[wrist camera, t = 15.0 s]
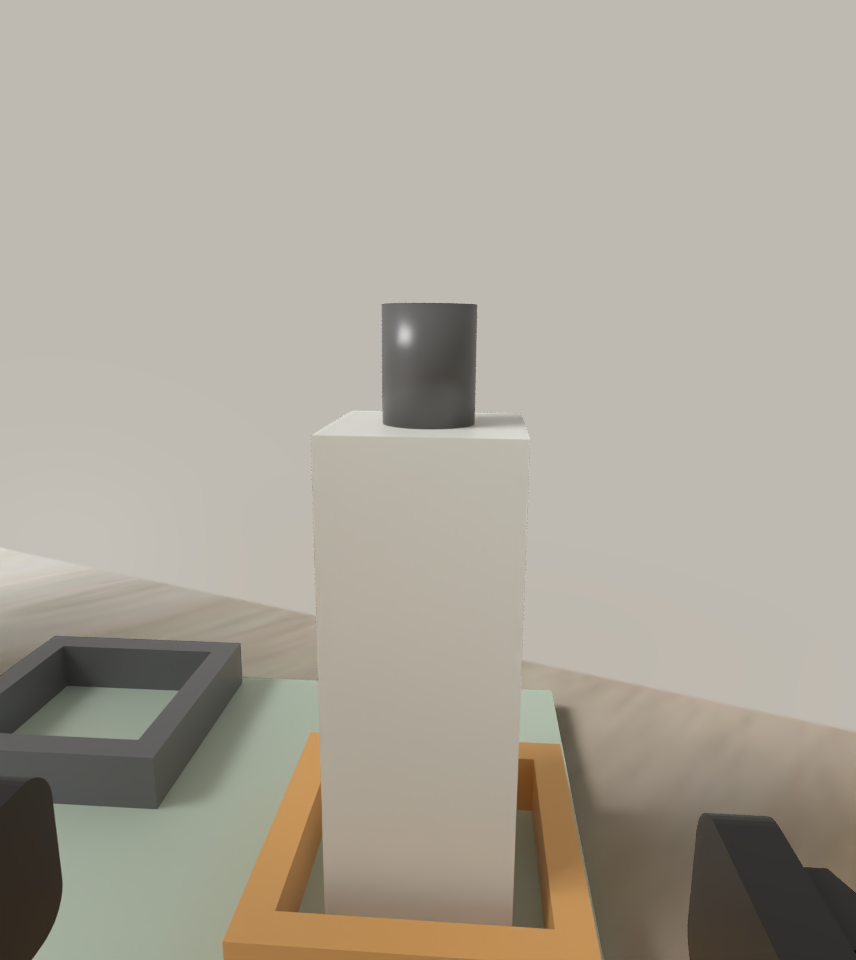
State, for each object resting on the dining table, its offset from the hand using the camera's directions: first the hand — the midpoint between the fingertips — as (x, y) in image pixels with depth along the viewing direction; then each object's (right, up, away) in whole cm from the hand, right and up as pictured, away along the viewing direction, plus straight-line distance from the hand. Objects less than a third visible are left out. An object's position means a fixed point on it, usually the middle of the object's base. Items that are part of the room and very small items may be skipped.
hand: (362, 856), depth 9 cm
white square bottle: (+1, -8, +13) cm, 15 cm away
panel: (-7, -8, +17) cm, 20 cm away
